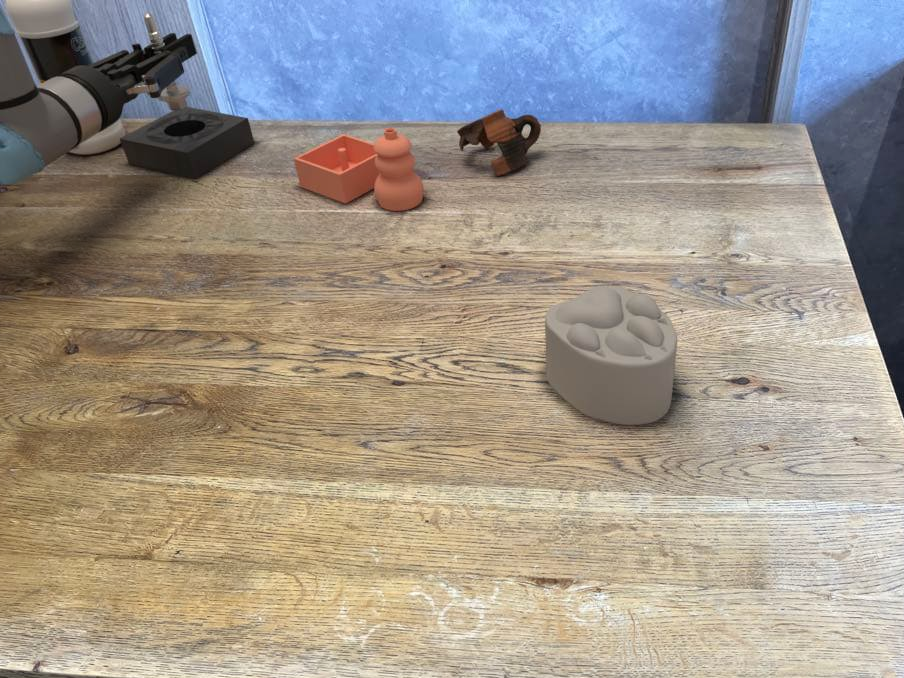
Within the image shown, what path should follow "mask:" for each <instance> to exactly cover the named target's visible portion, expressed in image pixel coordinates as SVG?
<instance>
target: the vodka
mask: <svg viewBox="0 0 904 678" xmlns="http://www.w3.org/2000/svg"><path fill="white" fill-rule="evenodd" d="M72 2H73V1H72V0H5V2H4V3H5V11H6V13H7V15H8V17H9V19H10V22H11V23H12V25H13V26H14V32H15V34H17V35H18V37H19V39H20V42H21V44H22V46H23V49H24V50H25V53H26V55H27V57H28V60H29V62H30V65H31V66H32V69H33V72H34V73H35V76H36V78H37V81H38V83H39V84H38V85H40V84H42V83H44V82H46V81H47V80H49V79H51V78H54V77H57V76H58V75H60V74H62V73H64V72H65V71H67V70H69V69H71V68H73V67H75V66H80V65H84V66H88V65H90V64H93V63H95V62H94V60H93V57H92V55H91V52H90V49H89V47H88V44H87V42H86V39H85V36H84V34H83V31H82V28H81V26H80V23H79V20H78V18H77V16H76V13H75V11H74V7H73V3H72ZM124 136H126V131H125V129H124V125H123V124H122V121H121V120H120V119H119V120H118V121H117V122H115V123H114V124H112V125H111V126H109V127H107V128H106V129H104V130H103V131H101V132H98V133H97V134H96V135H94V136H92V137H91V138H89V139H88V140H86V141H85V142H83V143H81V144H80V145H79V148H78V149H72V150H71V151H68V152H67V153H71V154H74V155H80V156H88V155H97V154H102V153H105V152H108V151H110V150H113V149H115V148H116V147H118V146H120V144H121V142H120V138H122V137H124Z"/></svg>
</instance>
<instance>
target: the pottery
mask: <svg viewBox="0 0 904 678" xmlns="http://www.w3.org/2000/svg"><path fill="white" fill-rule="evenodd" d="M411 148H412V143H411V140H410V139H409V138H408V137H407V136H405V135H403V134H399V133H398V130H397V128H395V127H387V128H384V129H383V135H382V136H380V137H378V138H377V139H376V140H375V141H374V143H373V142H369V141H367V140H364V139H361V138H358V137H354V136H352V135H348V134H345V133H343V134H341V135H339V136H337V137H334V138H333V139H331V140H328V141H326V142H325V143H323V144H320V145H318V146H317V147H314V148H312V149H310V150H308V151H306V152H303V153H302V154H300V155H298V156H296V157H294V158H293V162H294V165H295V171H296V174H297V178H298V182H299V183H298V184H299V186H300V188H303V189H305V190H308V191H310V192H313V193H316V194H318V195H321V196H323V197H327V198H328V199H329V198H330V199H332V200H334V201H337V202H339V203H343V204H348V203H350V202H352V201H353V200H355V199H357V198H359V197H361V196H362V195H364V194H366V193H368V192H370V191H371V190H373V189H374V190H373V191H374V192H373V193H374V196H375V197H376V200H377V202H378V205H379V206H380V208H382V209H385V210H387V211H391V212H392V211H393V212H401V211H408V210H411V209H413V208H416V207H418V206H419V205H420V204H421V203H422V202H423V198H424V197H423V196H424V184H423V181H422V179H421V177H420V176H419V174H418V173H417V172H416V171H415V170H414V168H415V165H416V160H415V156H414V154H413V153H412V152H411V151H410V150H411Z"/></svg>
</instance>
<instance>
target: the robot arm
mask: <svg viewBox="0 0 904 678" xmlns="http://www.w3.org/2000/svg"><path fill="white" fill-rule="evenodd" d="M177 37H178V36H177V33H175V32H170V33H168V34H166V35H165V36H162V38H163V43H165V45H164V47H163V48H161V49H160V50H161V53H159V54H157V55H155V53H153V52H154V50H153V49H152V44H150V43H149V44H148V45H147V46H145V47H143V48H142V45H141V43H133V44H131V46H132V49H133V50H132V51H131V52H129V50H127V49H122V50H120V51H117V52H116V53H113V54H111V55H108V56H107V57H103V58H102V59H99V60H97V61H95V62H94V63H93V64H90V65H88V66H84V65H80V66H75V67H73V68H71V69H69V70H67V71H65V72H64V73H62V74H60V75H58V76H57V77H54V78H51V79H49V80H47V81H46V82H44V83H42V84H40V85H39V84H38V85H37V84H36V81H35V80H34V78H33V75H32V73H31V71H30V70H31V69H30V68H29V66H28V63H27V61H26V57H25V55H24V53H23V51H22V49H21V47H20V43H19V41H18V39H17V36H16V31H15V29H14V28H13V27H12V26H11V23H10V22H9V19H8V17H7V15H6V13H5V11H4V9H3V7H2V6H1V5H0V185H4V186H8V185H9V186H11V185H16V184H18V183H20V182H22V181H23V180H25V179H27V178H29V177H32V176H33V175H37V174H38V173H42V171H43V170H44V169H45V168H46V167H48V166H49V165H50V164H52V163H53V162H55V161H56V160H58V159H59V158H61V157H63V156H64V155H65V154H67V153H69V152H68V151H71V150H72V149H78V148H79V145H80V144H81V143H83V142H85V141H86V140H88V139H89V138H91V137H92V136H94V135H96V134H97V133H98V132H101V131H103V130H104V129H106V128H107V127H109V126H111V125H112V124H114V123H115V122H117V121H118V120H119V121H120V119H121V116H122V114H123V110H124V106H125V104H129V102H132V101H133V100H136V99H137V98H138V97H139V95H140V94H147V95H148V96H150V98H151V99H157V98H158V97H160V95H161V92H162V91H163V90H164V89H165V88H166V87H167V86H169V85H170V84H171V83H172V82H173V81H177V79H179V78H180V77H181V76H182V75H183V74H185V73H186V71H185V69H184V66H183V63H184V62H186V61H188V60H189V59H191V58H193V57H194V56H196V55H197V54H198V51H197V49H196V45H195V42H194V38H193V35H192V33H186V34H184V35H182V36H180V37H179V38H177Z"/></svg>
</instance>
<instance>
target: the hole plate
mask: <svg viewBox="0 0 904 678" xmlns="http://www.w3.org/2000/svg"><path fill="white" fill-rule="evenodd" d="M120 142H121V143H120V144H121V147H122V149H123V152H124V154H125V157H126V160H127V162H128V164H129V165H130V166H135V167H141V168H144V169H149V170H154V171H158V172H162V173H167V174H172V175H177V176H180V177H185V178H190V179H195V180H196V179H198V178H200V177H201V176H203V175H205V174H206V173H209V172H210V171H212V170H213V169H214V168H216V167H219V166H220V165H221V164H223V163H224V162H227V161H228V160H230V159H231V158H232V157H234V156H236V155H237V154H239V153H240V152H242V151H244V150H246V149H247V148H249V147H251V146H253V145H254V144H255V139H254V136H253V132H252V128H251V125H250V121H249V118H248V117H246V116H245V117H244V116H239V115H235V114H228V113H222V112H217V111H211V110H207V109H200V108H196V107H195V108H194V107H190V106H188V107H186V108H184V109H182V110H171V111H170V112H168V113H166V114H164V115H162V116H159V118H156V119H154V120H153V121H151V122H149V123H147V124H145V125H143V126H141V127H139V128H137V129H135V130H133V131H132V132H129V133H127V134H125V136H124V137H122V138H120Z"/></svg>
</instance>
